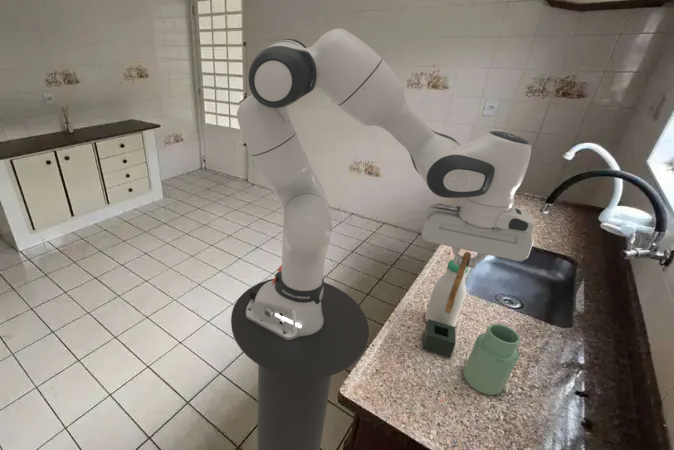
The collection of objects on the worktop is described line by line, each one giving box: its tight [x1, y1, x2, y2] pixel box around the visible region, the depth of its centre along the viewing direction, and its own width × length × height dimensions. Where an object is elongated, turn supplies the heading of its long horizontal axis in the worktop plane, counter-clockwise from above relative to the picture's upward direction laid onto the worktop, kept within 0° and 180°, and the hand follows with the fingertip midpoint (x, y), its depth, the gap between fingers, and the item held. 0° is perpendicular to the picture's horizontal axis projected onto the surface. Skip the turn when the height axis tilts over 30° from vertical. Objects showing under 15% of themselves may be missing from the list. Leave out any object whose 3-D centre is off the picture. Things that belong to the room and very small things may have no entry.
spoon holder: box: [422, 319, 456, 358], centre depth 91 cm, size 6×6×5 cm
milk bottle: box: [424, 259, 469, 328], centre depth 95 cm, size 8×8×20 cm
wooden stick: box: [445, 251, 472, 314], centre depth 83 cm, size 1×2×17 cm, turn 153°
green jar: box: [463, 323, 521, 396], centre depth 79 cm, size 8×8×15 cm
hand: (463, 264), depth 80 cm, fingers closed on wooden stick, 1 cm apart
